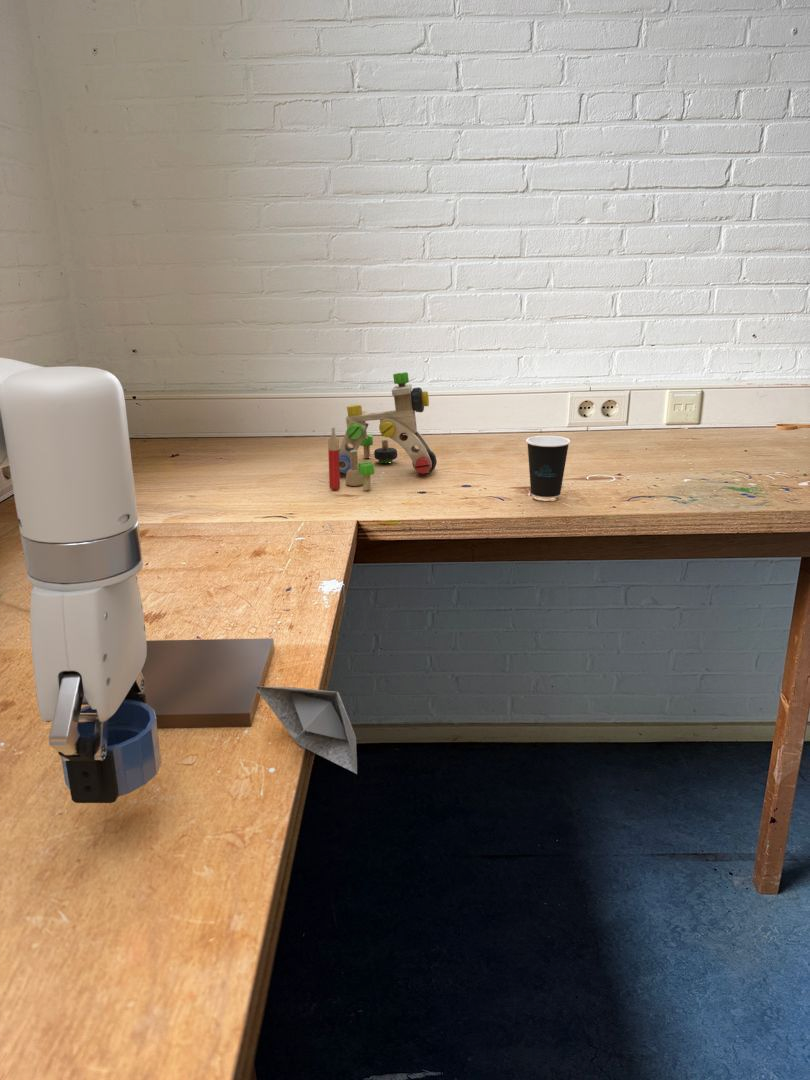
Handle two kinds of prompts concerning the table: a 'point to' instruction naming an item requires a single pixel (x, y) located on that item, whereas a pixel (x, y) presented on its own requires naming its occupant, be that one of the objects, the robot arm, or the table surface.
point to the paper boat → (315, 722)
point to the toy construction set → (390, 426)
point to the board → (205, 680)
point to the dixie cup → (547, 465)
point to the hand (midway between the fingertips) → (113, 766)
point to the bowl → (128, 744)
